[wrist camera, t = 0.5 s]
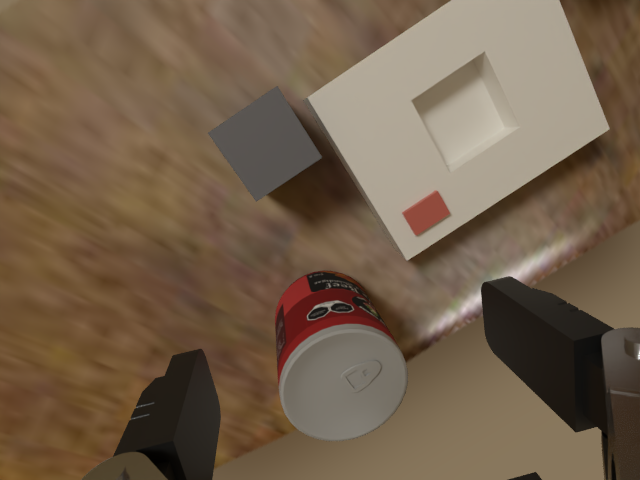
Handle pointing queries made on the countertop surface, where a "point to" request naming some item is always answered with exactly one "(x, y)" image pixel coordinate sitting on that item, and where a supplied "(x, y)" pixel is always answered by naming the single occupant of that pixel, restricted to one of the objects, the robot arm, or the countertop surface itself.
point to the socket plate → (459, 114)
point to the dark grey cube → (265, 144)
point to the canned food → (336, 359)
